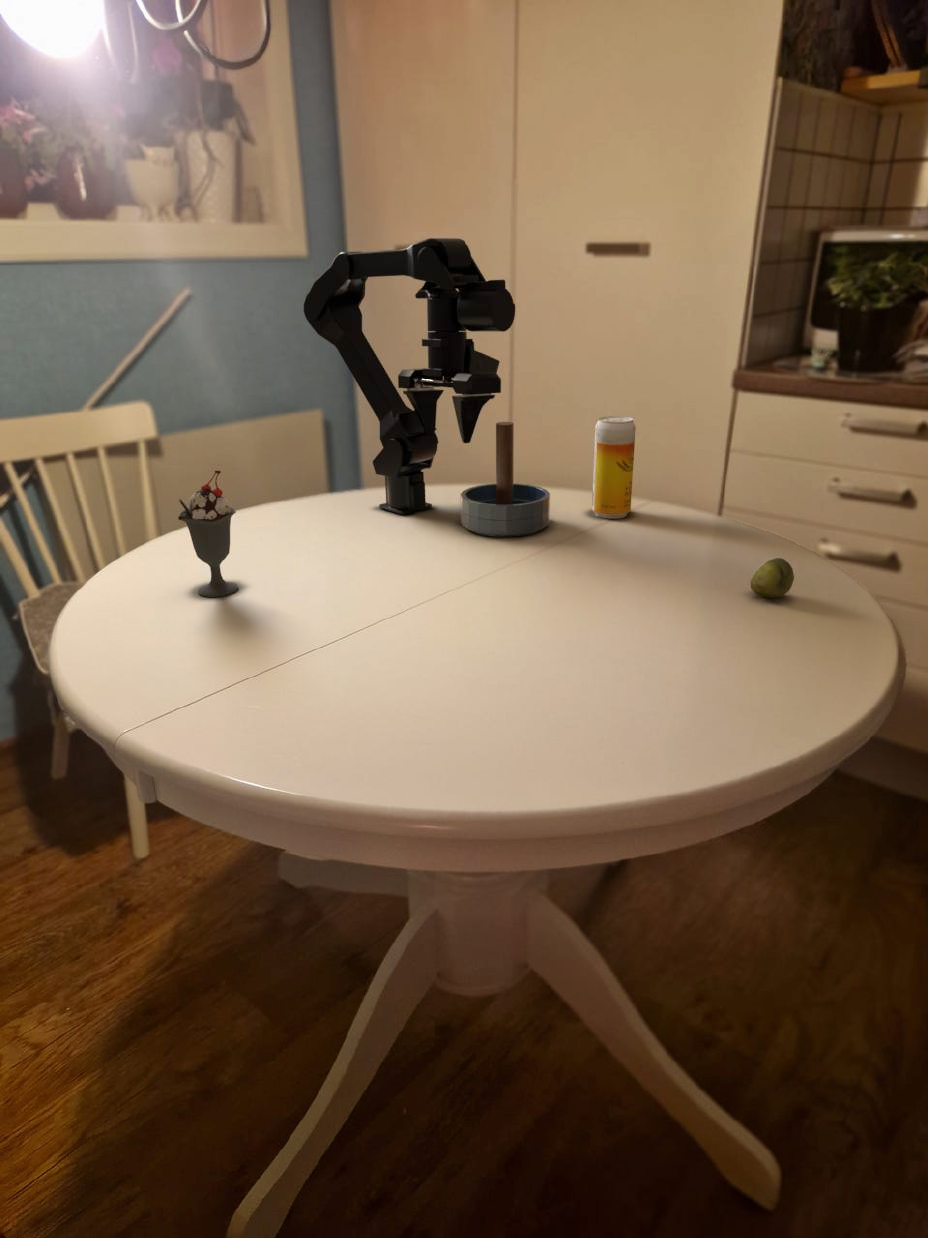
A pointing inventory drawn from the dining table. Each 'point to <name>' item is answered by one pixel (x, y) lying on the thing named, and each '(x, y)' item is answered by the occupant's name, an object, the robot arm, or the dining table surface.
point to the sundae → (210, 534)
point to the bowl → (505, 510)
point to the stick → (504, 462)
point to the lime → (773, 578)
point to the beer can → (613, 466)
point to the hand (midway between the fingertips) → (448, 439)
